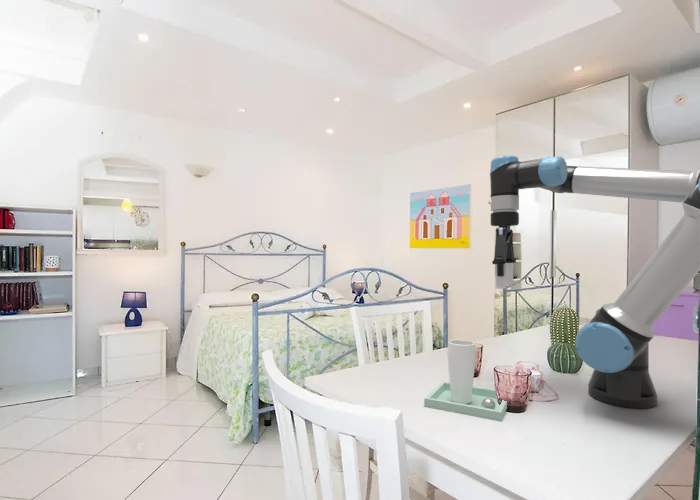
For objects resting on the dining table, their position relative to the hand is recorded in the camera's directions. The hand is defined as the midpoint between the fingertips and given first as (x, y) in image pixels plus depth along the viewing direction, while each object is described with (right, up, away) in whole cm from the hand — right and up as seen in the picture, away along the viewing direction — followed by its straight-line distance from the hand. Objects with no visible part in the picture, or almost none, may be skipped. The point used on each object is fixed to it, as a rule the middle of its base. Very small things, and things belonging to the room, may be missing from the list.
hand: (504, 286), depth 116 cm
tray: (-14, -29, -13) cm, 35 cm away
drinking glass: (-16, -28, -12) cm, 35 cm away
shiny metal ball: (-11, -28, -19) cm, 36 cm away
